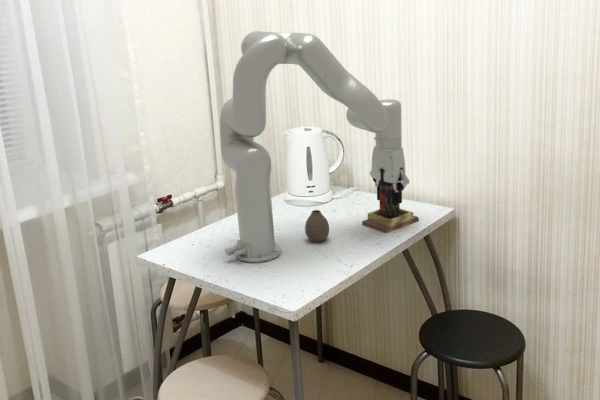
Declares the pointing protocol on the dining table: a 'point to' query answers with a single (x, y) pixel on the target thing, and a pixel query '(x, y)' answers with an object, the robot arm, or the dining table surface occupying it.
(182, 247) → the dining table surface
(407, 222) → the holder board
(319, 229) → the vase
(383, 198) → the deodorant
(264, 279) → the dining table surface
